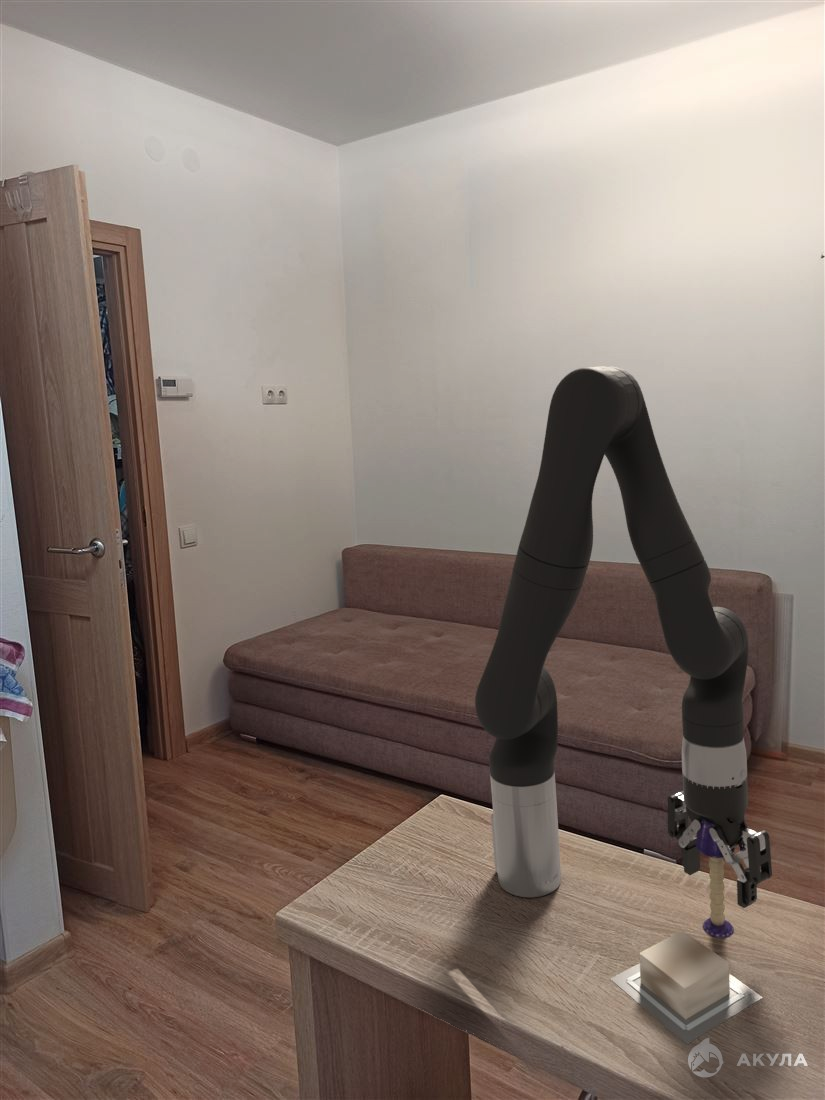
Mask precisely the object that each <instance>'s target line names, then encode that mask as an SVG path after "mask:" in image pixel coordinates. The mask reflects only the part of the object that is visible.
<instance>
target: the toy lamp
mask: <svg viewBox="0 0 825 1100" xmlns="http://www.w3.org/2000/svg"><path fill="white" fill-rule="evenodd" d="M714 826H715V824H713V823H712V822H710V821H708V820H706V819H702V827H701V829H700V830H699V831H698V834H697V838H696V848H697V849H698V851H699V852H700V853H701V854H702V855H704V856H707V857H709V861H708V867H709V869H710V870H709V879H710V880H709V889H710V892H709V899H710V903H709V908H710V909H709V910H710V914H709V915H710V917H709V918H707V919H706V920H705V921H704V922H703V923H702V930H703V931H704V932H705V933H706V934H707V935H709V936H711V937H713V938H718V939H726V938H729V937H731V936H733V935H734V933H735V929H734V926H733V925H732V923H731V922H730V921H729V920H727V919H726V915H725V907H726V906H725V905H726V904H725V903H724V901H725V898H726V897H725V892H724V891H725V882H724V878H725V873H724V868H725V867H724V866H725V865H724V864H725V862H724V860H723V859H725V858H724V856H723V854H722V852H721V850H720V849H719V847H718V845H717V843H716V842H715V841H714V840H713V838H712V837H711V835H710V832H709V829H710V828H712V827H714ZM735 848H736V847H734V848H733V849H731V851H732V852H733V853H735V850H736V849H735Z"/></svg>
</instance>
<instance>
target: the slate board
mask: <svg viewBox="0 0 825 1100" xmlns="http://www.w3.org/2000/svg"><path fill="white" fill-rule="evenodd" d="M609 979H610V981H612V982H613V983H614V984H615V985H616V986H617V987H619V988H620V990H622V991H623V992H625V994H627V995H628V996H629V997H630V998H632V1000H634V1001H635V1002H636V1003H637V1004H639V1005H640V1006H641V1007H642V1008H643V1009H644V1010H645V1011H646V1012H648V1013H649V1014H650V1015H651V1016H653V1017H654V1018H655V1019H656V1020H657V1021H658V1022H659V1023H661V1024H662V1025H663V1026H664V1027H665V1028H666V1029H668V1030H669V1032H671V1033H672V1034H673V1035H675V1036H676V1037H677V1038H678V1039H679V1040H680V1041H682V1042H683V1043H684V1044H685V1045H689V1044H690V1043H692V1042H693V1041H695V1040H697V1039H699V1038H701V1036H702V1037H703V1035H705V1034H707V1033H708V1032H710V1031H712V1030H713V1029H715V1028H716V1027H718V1026H719V1025H721V1024H722V1023H724V1022H726V1021H728V1020H729V1019H730V1018H732V1017H735V1016H736V1015H738V1014H739V1013H740V1012H742V1011H744V1010H745V1009H747V1008H749V1007H750V1006H752V1005H753V1004H755V1003H757V1002H759V1001H760V1000H762V999H763V998H764V997H763V996H761V995H760V994H758V992H756V991H754V990H753V989H752V988H750V986H747V985H746V984H745V983H743V982H742V981H740V980H739V979H738V978H736V977H735V976H733V975H732V974H731V973H729V984H730V994H728V995H726V996H725V997H723V998H721V999H719V1000H718V1001H716V1002H714V1003H713V1004H711V1005H709V1006H708V1007H706V1008H704V1009H703V1010H701V1011H699V1012H698V1013H696V1014H694V1015H693V1016H691V1017H689V1018H688V1019H684V1018H683V1017H682V1016H681V1015H679V1014H678V1013H677V1012H676V1011H675V1010H673V1009H672V1008H671V1007H670V1006H669V1005H667V1004H666V1003H665V1002H664V1001H662V1000H661V999H660V998H659V997H658V996H656V995H655V994H654V993H653V992H652V991H650V990H649V989H648V988H647V987H645V986H644V985H643V984H642V983H641V979H640V962H639V963H637V964H636V965H633V966H631V967H629V968H628V969H626V970H623V971H622V972H620V973H618V974H617V975H614V976H613V977H611V978H609Z"/></svg>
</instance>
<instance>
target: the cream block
mask: <svg viewBox="0 0 825 1100" xmlns="http://www.w3.org/2000/svg"><path fill="white" fill-rule="evenodd" d="M639 963H640V979H641V983H642V984H643V985H644V986H645V987H647V988H648V989H649V990H650V991H652V992H653V993H654V994H655V995H656V996H658V997H659V998H660V999H661V1000H662V1001H664V1002H665V1003H666V1004H667V1005H669V1006H670V1007H671V1008H672V1009H673V1010H675V1011H676V1012H677V1013H678V1014H679V1015H681V1016H682V1017H683V1018H684V1019H688V1018H689V1017H691V1016H693V1015H694V1014H696V1013H698V1012H699V1011H701V1010H703V1009H704V1008H706V1007H708V1006H709V1005H711V1004H713V1003H714V1002H716V1001H718V1000H719V999H721V998H723V997H725V996H726V995H728V994H730V984H729V974H730V962H728V961H727V960H726V959H724V958H722V957H721V956H720V955H718V954H717V953H715V952H714V951H713V950H711V949H710V948H709V947H708V946H706V945H704V944H703V943H701V942H700V941H698V940H697V939H695V938H694V937H693V936H691V935H690V934H688V933H687V932H686V931H685V930H680V931H679V932H676V933H675V934H673V935H671V936H669V937H667V938H665V939H663V940H661V941H659V942H658V943H655V944H654V945H652V946H650V947H648V948H647V949H644V950H643V951H641V952H639Z"/></svg>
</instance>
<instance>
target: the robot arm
mask: <svg viewBox="0 0 825 1100" xmlns="http://www.w3.org/2000/svg"><path fill="white" fill-rule="evenodd" d="M548 409H549V410H548V416H547V421H546V426H545V427H546V428H545V434H544V441H543V449H542V455H541V461H540V467H539V471H538V476H537V479H536V483H535V487H534V490H533V493H532V498H531V501H530V504H529V505H530V506H529V509H528V513H527V517H526V519H525V520H526V521H525V525H524V528H523V531H522V534H521V537H520V541H519V543H518V544H519V545H518V548H517V551H516V556H515V559H514V562H513V567H512V571H511V576H510V582H509V585H508V589H507V593H506V597H505V601H504V604H503V605H504V606H503V609H502V611H501V612H502V613H501V617H500V622H499V626H498V631H497V634H496V637H495V641H494V645H493V647H492V650H491V653H490V655H489V658H488V660H487V663H486V665H485V668H484V670H483V673H482V675H481V678H480V681H479V683H478V685H477V689H476V693H475V699H474V704H475V705H474V707H475V714H476V718H477V719H478V721H479V722H478V723H479V724H480V725H481V727H482V728H483V729H484V730H485V732H487V734H489V735H490V736H491V737H493V738H495V742H494V744H493V746H492V748H491V750H490V752H489V758H488V765H489V767H488V768H489V777H490V789H491V790H490V791H491V799H492V800H491V802H492V803H491V804H492V813H491V816H490V819H491V833H492V844H493V845H492V847H493V858H494V859H493V860H494V871H495V872H496V873H497V880H498V884H499V886H500V887H501V888H502V889H503V890H504V892H507V893H509V894H510V895H514V896H516V897H522V898H538V897H543V896H546V895H550V894H551V893H553V892H554V891H555V890H557V889H558V888H559V886H560V885H561V882H562V875H561V874H562V872H561V871H562V870H561V869H562V868H561V853H560V851H561V850H560V835H559V821H558V819H559V817H558V808H557V807H558V805H557V804H558V803H557V789H556V774H555V758H556V755H557V751H558V747H559V745H558V744H559V727H558V726H559V725H558V723H559V721H558V719H559V718H558V717H559V716H558V698H557V697H558V696H557V691H556V690H557V689H556V687H555V682H554V679H553V678H552V676H551V674H550V672H549V671H548V670H547V668H546V667H544V666H545V663H546V659H547V657H548V654H549V652H550V650H551V647H552V646H553V644H554V642H555V640H556V639H557V637H558V635H559V633H560V632H561V631H562V629H563V627H564V625H565V623H566V622H567V620H568V618H569V616H570V614H571V612H572V610H573V609H574V606H575V605H576V602H577V600H578V598H579V596H580V593H581V589H582V586H583V585H584V584H583V583H584V581H585V578H586V573H587V571H588V567H589V563H590V561H591V555H592V551H593V547H594V546H593V544H594V523H593V522H594V521H593V495H594V489H595V485H596V480H597V477H598V474H599V472H600V468H601V466H602V462H603V460H604V457H605V458H606V459H607V461H608V463H609V465H610V466H611V470H612V471H613V474H614V476H615V478H616V481H617V484H618V487H619V491H620V494H621V499H622V504H623V511H624V514H625V515H624V516H625V520H626V521H625V522H626V527H627V532H628V535H629V539H630V543H631V544H632V548H633V551H634V554H635V556H636V558H637V560H638V562H639V565H640V566H641V569H642V571H643V573H644V575H645V578H646V581H648V583H649V586H650V588H651V590H652V592H653V594H654V597H655V601H656V608H657V613H658V617H659V621H660V625H661V628H662V632H663V637H664V641H665V644H666V646H667V649H668V651H669V653H670V655H671V657H672V659H673V661H674V662H675V663H676V664H677V666H678V667H679V668H680V669H681V670H682V671H683V672H684V673H685V674H686V675H688V676H690V678H689V682H688V685H687V688H686V690H685V691H684V693H683V696H682V701H681V721H682V744H681V770H682V773H681V774H682V790H681V791H679V792H676V793H674V794H672V795H669V796H668V797H667V835H669V837H670V838H675V839H676V840H677V841H678V842H677V843H678V845H679V846H680V848H681V849H680V850H681V865H682V867H683V872H684V873H685V874H686V875H689V876H693V875H694V874H696V873H697V872H699V871H700V870H701V858H700V857H701V856H700V855H701V854H700V853H701V852H699V851H698V849H697V848H696V838H697V834H698V831H699V830H700V829H701V827H702V819H706V820H708V821H710V822H712V823H713V824H715V826H714V827H712V828H710V829H709V832H710V835H711V837H712V838H713V840H714V841H715V842H716V843H717V845H718V847H719V849H720V850H721V852H722V854H723V856H724V858H723V859H724V860H725V862H726V863H727V864H728V865H730V866H732V869H733V870H734V872H735V875H736V876H737V879H736V895H737V905H738V906H740V907H741V908H742V909H746V908H747V907H749V906H751V905H753V904H754V903H755V902H756V901H757V900H758V891H757V889H758V888H757V887H758V885H759V884H761V883H762V882H764V881H766V880H769V879H770V878H772V877H773V870H772V869H773V868H772V867H773V866H772V857H771V856H772V855H771V843H770V842H771V841H770V840H771V839H770V835H769V833H768V832H767V831H766V830H764V829H762V830H760V831H755V830H753V829H750V828H749V827H748V825H747V822H746V817H745V816H746V812H747V809H748V805H749V797H748V796H749V794H748V793H749V792H748V764H747V762H748V761H747V758H748V757H747V750H746V744H745V738H744V737H745V735H744V709H743V695H744V689H745V683H746V675H747V668H748V661H749V660H748V658H749V636H748V633H747V629H746V627H745V626H746V625H745V624H744V622H743V621H742V618H741V617H739V616H738V615H737V614H736V613H735V612H733V611H732V610H730V609H728V608H726V607H722V606H713V604H712V601H711V598H710V595H709V588H710V585H711V582H712V575H711V571H710V569H709V566H708V563H707V561H706V559H705V557H704V554H703V553H702V550H701V548H700V546H699V545H698V544H699V543H698V541H697V540H696V537H695V535H694V533H693V532H692V529H691V527H690V525H689V523H688V521H687V519H686V517H685V514H684V511H683V510H682V508H681V506H680V503H679V501H678V499H677V496H676V493H675V491H674V488H673V487H672V484H671V481H670V478H669V475H668V473H667V469H666V467H665V464H664V462H663V458H662V455H661V453H660V449H659V446H658V444H657V443H658V442H657V439H656V436H655V433H654V430H653V426H652V422H651V419H650V415H649V411H648V408H647V403H646V400H645V397H644V394H643V391H642V387H641V386H640V385H639V382H638V380H637V379H636V378H635V376H633V375H632V374H631V373H630V372H629V371H627V370H625V369H623V368H621V367H616V366H614V365H613V366H612V365H603V366H601V365H600V366H585V367H580V368H576V369H574V370H573V371H570V372H569V373H567V374H566V375H565V376H564V377H563V378H562V379H561V380H560V381H559V383H558V384H557V385H556V387H555V389H554V391H553V394H552V396H551V401H550V403H549V408H548ZM689 820H690V822H691V823H690V825H688V824H689ZM737 846H738V847H739V851H738V852H736V853H734V852H732V851H731V849H733V848H734V847H735V848H736V847H737ZM741 861H743V863H744V865H745V867H746V868H744V866H743V864H742V862H741Z"/></svg>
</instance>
